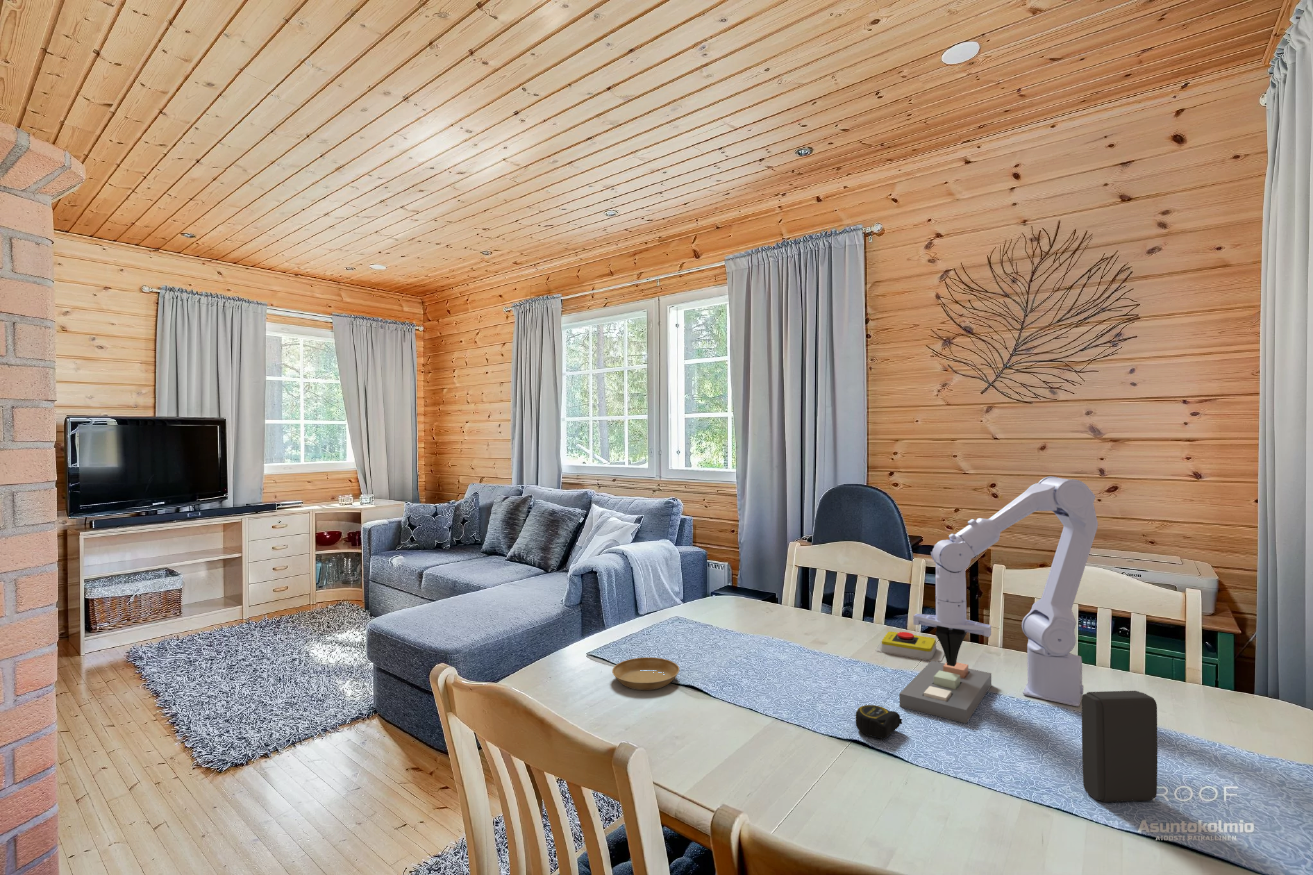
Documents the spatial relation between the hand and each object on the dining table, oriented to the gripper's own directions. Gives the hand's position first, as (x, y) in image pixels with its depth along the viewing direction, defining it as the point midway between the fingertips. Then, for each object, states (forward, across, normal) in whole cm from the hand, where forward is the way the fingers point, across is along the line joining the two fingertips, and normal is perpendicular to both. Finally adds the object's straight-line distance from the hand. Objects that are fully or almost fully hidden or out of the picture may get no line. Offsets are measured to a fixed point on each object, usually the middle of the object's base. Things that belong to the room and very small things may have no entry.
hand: (951, 664), depth 129 cm
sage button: (+4, 0, +3) cm, 5 cm away
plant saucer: (+6, +55, +33) cm, 64 cm away
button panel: (+5, 0, +3) cm, 6 cm away
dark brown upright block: (+6, -28, +26) cm, 39 cm away
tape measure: (+6, +6, +27) cm, 28 cm away
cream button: (+5, 0, +10) cm, 11 cm away
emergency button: (+6, +14, -19) cm, 24 cm away
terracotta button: (+4, 0, -4) cm, 5 cm away
